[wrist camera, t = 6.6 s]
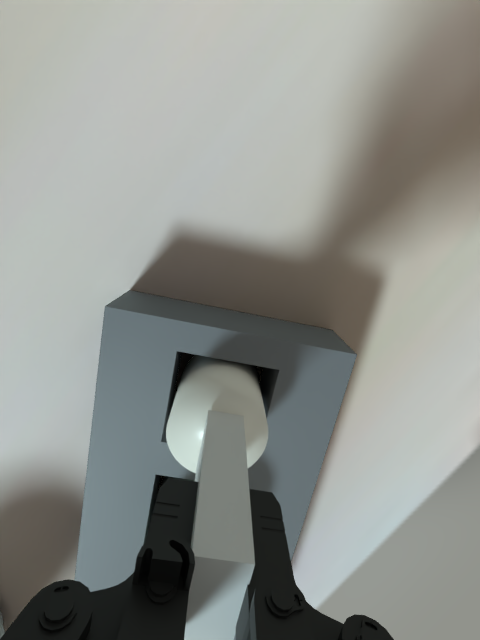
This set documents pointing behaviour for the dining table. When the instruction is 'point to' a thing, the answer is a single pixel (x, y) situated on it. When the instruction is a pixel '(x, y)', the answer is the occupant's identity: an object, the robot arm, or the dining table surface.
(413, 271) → the dining table surface
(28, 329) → the dining table surface
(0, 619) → the soda can
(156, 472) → the grey egg holder
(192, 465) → the white egg
